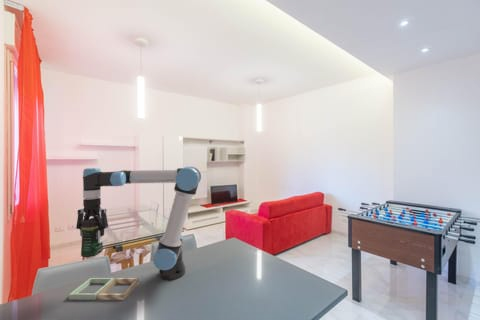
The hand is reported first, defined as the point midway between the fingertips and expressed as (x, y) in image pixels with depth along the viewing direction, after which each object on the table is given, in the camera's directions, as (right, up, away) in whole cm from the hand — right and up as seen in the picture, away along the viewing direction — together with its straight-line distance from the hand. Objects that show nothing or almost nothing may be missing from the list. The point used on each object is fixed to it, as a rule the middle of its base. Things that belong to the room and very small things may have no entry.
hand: (92, 242), depth 116 cm
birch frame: (+14, -25, 0) cm, 29 cm away
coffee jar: (0, -6, 0) cm, 6 cm away
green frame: (0, -25, 0) cm, 25 cm away
